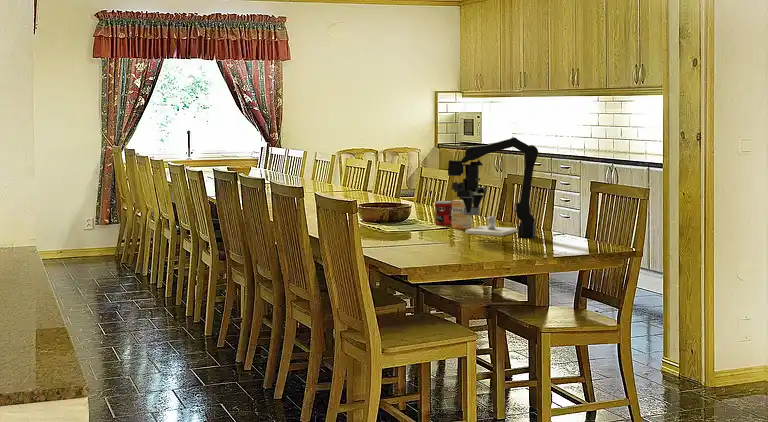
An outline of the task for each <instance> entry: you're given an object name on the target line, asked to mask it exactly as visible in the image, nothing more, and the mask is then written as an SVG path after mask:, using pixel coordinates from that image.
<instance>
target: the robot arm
mask: <svg viewBox="0 0 768 422" xmlns="http://www.w3.org/2000/svg"><path fill="white" fill-rule="evenodd" d="M511 148H515V149H516V150H518V151H520V152H521V153H523V154H524V155H523V157H524V159H523V160H524V169H523V170H524V171H523V179H522V184H521V185H522V186H521V192H520V193H521V194H520V198H519V201H516V200H515V209H514V212H515V214H516V218H518V220H520V222H519V225H518V228H517V232H518V235H517V238H522V239H523V238H524V239H534V238H536V237H538V235H536V234H537V233H536V232H537V230H536V226H537V225H536V222H535V221H536V219H535V216H534V215H532V214H531V208H530V206H531V205H530V195H531V190H532V189H531V188H532V182H533V172H534V167H535V164H536V161H537V159H538V155H539V149H538V148H537V147H536V146H535V145H534V144H530V145H528V144H527V143H525V142H523V141H521V140H519V139H518V138H517V137H510V138H507V139H505V140H501V141H497V142H493V143H490V144H486V145H475V146H469V147H467V148H466V150H465V152H464V156H463V158H461V160H453V159H449V160H448V164H447V165H448V168H447V176H448V177H460V176H461V177H462V175H463V174H464V176H465V177H464V178H463V179H462V182H457V181H454V182H452V184H451V190H452V191H454V193H456V198H459V199H460V200H463V201H464V204H465V207H466V210H467V213H470V210H471V207H480V205H481V202H482V200H483V198H484V197H485V195H486V194H488V193H487V191H488V189H487V188H486V187H485V186H479V181H481V177H479V174H480V173H479V166H483V165H484V164H483V163H482V162H481V160H480V158H482V157H484V156H486V155H488V154H491V153H494V152H495V153H496V152H499V151H502V150H507V149H511ZM477 159H478V160H477ZM475 160H477V161H475ZM468 162H470V163H468ZM464 170H465V171H464Z"/></svg>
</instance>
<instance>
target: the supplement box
mask: <svg viewBox="0 0 768 422" xmlns="http://www.w3.org/2000/svg"><path fill="white" fill-rule="evenodd" d="M451 202H452V224H451V229H457V230H459V229H460V230H468V229H471V228H472V215H464V207H465V204H464V201H463V200H462V199H453V200H451Z"/></svg>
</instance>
